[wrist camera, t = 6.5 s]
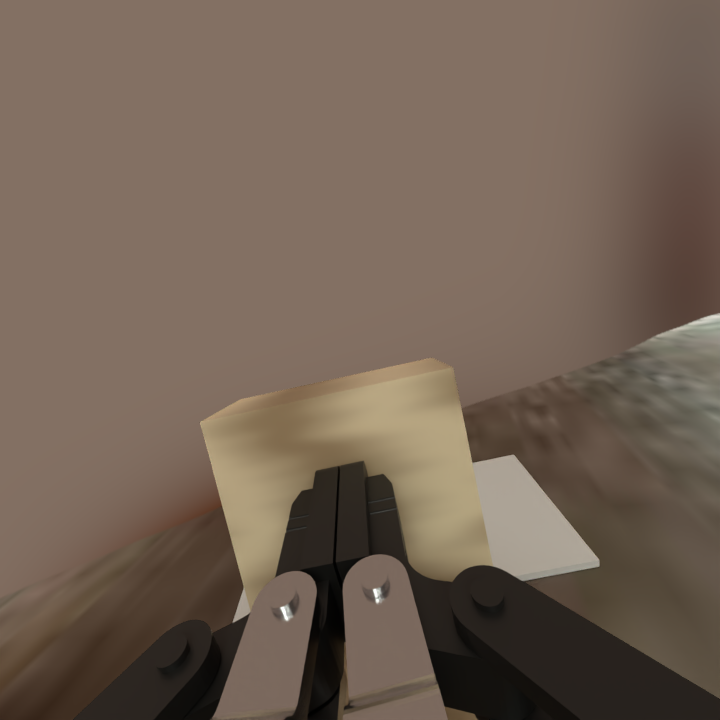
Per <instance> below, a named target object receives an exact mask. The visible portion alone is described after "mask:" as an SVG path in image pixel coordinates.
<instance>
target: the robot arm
mask: <svg viewBox="0 0 720 720" xmlns="http://www.w3.org/2000/svg"><path fill="white" fill-rule="evenodd" d="M344 642H346V656H347V673H348V691H349V701H348V705H346V690H347V677H346V672H345V669H344ZM345 705H346V706H345ZM444 706H445V707H449V708H453V709H456V710H460V711H464V712H468V713H472V714H475V716H476V718H477V719H478V720H720V699H719V698H717V697H716V696H714V695H712V694H711V693H709V692H707V691H706V690H704V689H702V688H701V687H699V686H697V685H696V684H694V683H692V682H690V681H689V680H687V679H685V678H684V677H682V676H680V675H679V674H677V673H675V672H674V671H672V670H670V669H669V668H667V667H665V666H664V665H662V664H660V663H659V662H657V661H655V660H654V659H652V658H650V657H649V656H647V655H645V654H644V653H642V652H640V651H639V650H637V649H635V648H634V647H632V646H630V645H629V644H627V643H625V642H624V641H622V640H620V639H619V638H617V637H615V636H613V635H612V634H610V633H608V632H607V631H605V630H603V629H602V628H600V627H598V626H597V625H595V624H593V623H592V622H590V621H588V620H587V619H585V618H583V617H582V616H580V615H578V614H577V613H575V612H573V611H572V610H570V609H568V608H567V607H565V606H563V605H562V604H560V603H558V602H557V601H555V600H553V599H552V598H550V597H548V596H547V595H545V594H543V593H542V592H540V591H538V590H536V589H535V588H533V587H531V586H530V585H528V584H526V583H525V582H523V581H521V580H520V579H518V578H516V577H515V576H513V575H511V574H510V573H508V572H506V571H504V570H502V569H500V568H497V567H494V566H489V565H477V566H473V567H469V568H467V569H465V570H463V571H462V572H460V573H459V574H458V575H457V576H456V578H455V579H454V580H453V582H449V581H441V580H435V579H431V578H428V577H425V576H423V575H421V574H420V573H418V572H417V571H416V570H415V569H414V568H413V567H412V566H411V565H410V564H409V561H408V556H407V550H406V545H405V540H404V535H403V529H402V524H401V520H400V515H399V511H398V507H397V502H396V498H395V494H394V489H393V485H392V483H391V482H390V480H389V479H388V478H387V477H386V476H385V475H384V474H380V475H375V476H370V477H368V474H367V470H366V466H365V463H364V461H359V462H354V463H349V464H344V465H341V466H335V467H331V468H326V469H321V470H316V472H315V477H314V483H313V489H308V490H303V491H301V492H300V494H299V495H298V496H297V498H296V499H295V501H294V502H293V503H292V506H291V510H290V515H289V521H288V523H287V528H286V533H285V536H284V541H283V545H282V549H281V554H280V558H279V562H278V567H277V571H276V575H275V578H274V579H272V580H271V581H270V582H269V583H267V584H266V585H265V586H264V588H263V589H262V590H261V591H260V592H259V594H258V596H257V597H256V599H255V601H254V604H253V606H252V609H251V612H250V613H249V614H248V615H246V616H244V617H243V618H241V619H239V620H237V621H235V622H233V623H231V624H230V625H228V626H226V627H224V628H222V629H220V630H218V631H216V632H214V633H212V631H211V629H210V627H209V626H208V624H207V623H205V622H204V621H201V620H189V621H186V622H183V623H181V624H178V625H176V626H175V627H173V628H171V629H170V630H169V631H167V632H166V633H164V634H163V635H162V636H161V637H160V638H159V639H158V640H157V641H156V642H154V643H153V644H152V645H151V646H150V647H149V648H148V649H147V650H146V651H145V652H144V653H143V654H142V655H141V656H140V657H139V658H138V659H136V660H135V661H134V662H133V663H132V664H131V665H130V666H129V667H128V668H127V669H126V670H125V671H124V672H123V673H122V674H121V675H120V676H118V677H117V678H116V679H115V680H114V681H113V682H112V683H111V684H110V685H109V686H108V687H107V688H106V689H105V690H104V691H103V692H102V693H100V694H99V695H98V696H97V697H96V698H95V699H94V700H93V701H92V702H91V703H90V704H89V705H88V706H87V707H86V708H85V709H84V710H82V711H81V712H80V713H79V714H78V715H77V716H76V717H75V718H74V719H73V720H448V718H447V715H446V711H445V707H444Z"/></svg>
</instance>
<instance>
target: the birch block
mask: <svg viewBox="0 0 720 720" xmlns="http://www.w3.org/2000/svg"><path fill="white" fill-rule="evenodd" d="M200 424H201V428H202V432H203V435H204V439H205V443H206V446H207V450H208V454H209V458H210V461H211V465H212V469H213V473H214V476H215V480H216V484H217V488H218V491H219V495H220V499H221V503H222V507H223V510H224V514H225V518H226V522H227V525H228V529H229V533H230V537H231V540H232V544H233V548H234V552H235V555H236V559H237V563H238V567H239V570H240V574H241V578H242V582H243V585H244V589H245V593H246V597H247V600H248V604H249V608H250V612H251V609H252V606H253V604H254V601H255V599H256V597H257V596H258V594H259V592H260V591H261V590H262V589H263V588H264V586H265V585H266V584H267V583H269V582H270V581H271V580H272V579H274V578H275V575H276V571H277V567H278V562H279V558H280V554H281V549H282V545H283V541H284V536H285V533H286V528H287V523H288V521H289V515H290V510H291V506H292V503H293V502H294V501H295V499H296V498H297V496H298V495H299V494H300V492H301V491H303V490H308V489H313V483H314V477H315V472H316V470H321V469H326V468H331V467H335V466H341V465H344V464H349V463H354V462H359V461H364V463H365V466H366V470H367V474H368V477H370V476H375V475H380V474H384V475H385V476H386V477H387V478H388V479H389V480H390V482H391V483H392V485H393V489H394V494H395V498H396V502H397V507H398V511H399V515H400V520H401V524H402V529H403V535H404V540H405V545H406V550H407V556H408V561H409V564H410V565H411V566H412V567H413V568H414V569H415V570H416V571H417V572H418V573H420V574H421V575H423V576H425V577H428V578H431V579H435V580H441V581H449V582H453V580H454V579H455V578H456V576H457V575H458V574H459V573H460V572H462V571H463V570H465V569H467V568H469V567H473V566H477V565H489V566H493V563H492V558H491V554H490V549H489V544H488V539H487V534H486V529H485V524H484V519H483V514H482V509H481V504H480V499H479V494H478V489H477V484H476V479H475V474H474V469H473V464H472V459H471V454H470V449H469V444H468V439H467V434H466V429H465V424H464V419H463V414H462V409H461V404H460V399H459V394H458V389H457V384H456V379H455V375H454V369H453V367H451V366H449V365H447V364H445V363H443V362H440V361H438V360H436V359H434V358H428V359H423V360H419V361H414V362H410V363H405V364H401V365H396V366H391V367H387V368H382V369H378V370H373V371H368V372H364V373H359V374H355V375H350V376H346V377H342V378H337V379H332V380H327V381H323V382H318V383H314V384H309V385H304V386H300V387H295V388H291V389H286V390H281V391H277V392H272V393H268V394H263V395H259V396H254V397H249V398H245V399H241V400H239V401H237V402H235V403H233V404H231V405H230V406H228V407H226V408H224V409H223V410H221V411H219V412H217V413H216V414H214V415H212V416H210V417H208V418H206V419H205V420H203V421H201V422H200ZM344 669H345V672H346V677H347V690H346V705H348V701H349V691H348V673H347V656H346V642H344ZM346 705H345V706H346ZM444 707H445V706H444ZM445 711H446V715H447V718H448V720H478V719H477V718H476V716H475V714H472V713H468V712H464V711H460V710H456V709H453V708H449V707H445Z"/></svg>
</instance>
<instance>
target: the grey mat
mask: <svg viewBox="0 0 720 720" xmlns="http://www.w3.org/2000/svg"><path fill="white" fill-rule="evenodd" d="M472 464H473V469H474V474H475V479H476V484H477V489H478V494H479V499H480V504H481V509H482V514H483V519H484V524H485V529H486V534H487V539H488V544H489V549H490V554H491V558H492V563H493V566H494V567H497V568H500V569H502V570H504V571H506V572H508V573H510V574H511V575H513V576H515V577H516V578H518V579H520V580H521V581H526V580H531V579H536V578H542V577H547V576H552V575H557V574H563V573H568V572H573V571H578V570H584V569H589V568H594V567H599V559H598V558H597V557H596V555H595V554H594V553H593V552H592V550H591V549H590V548H589V547H588V545H587V544H586V543H585V542H584V541H583V539H582V538H581V537H580V536H579V534H578V533H577V532H576V531H575V529H574V528H573V527H572V526H571V525H570V523H569V522H568V521H567V520H566V518H565V517H564V516H563V515H562V513H561V512H560V511H559V510H558V509H557V507H556V506H555V505H554V504H553V502H552V501H551V500H550V499H549V497H548V496H547V495H546V494H545V493H544V491H543V490H542V489H541V488H540V486H539V485H538V484H537V483H536V481H535V480H534V479H533V478H532V477H531V475H530V474H529V473H528V472H527V470H526V469H525V468H524V467H523V465H522V464H521V463H520V462H519V461H518V459H517V458H516V457H515V456H514V455H509V456H504V457H499V458H495V459H490V460H485V461H480V462H475V463H472ZM249 613H250V608H249V604H248V600H247V597H246V593H245V589H243V592H242V595H241V598H240V602H239V605H238V608H237V611H236V614H235V617H234V620H233V622H235V621H237V620H239V619H241V618H243V617H244V616H246V615H248V614H249Z"/></svg>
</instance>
